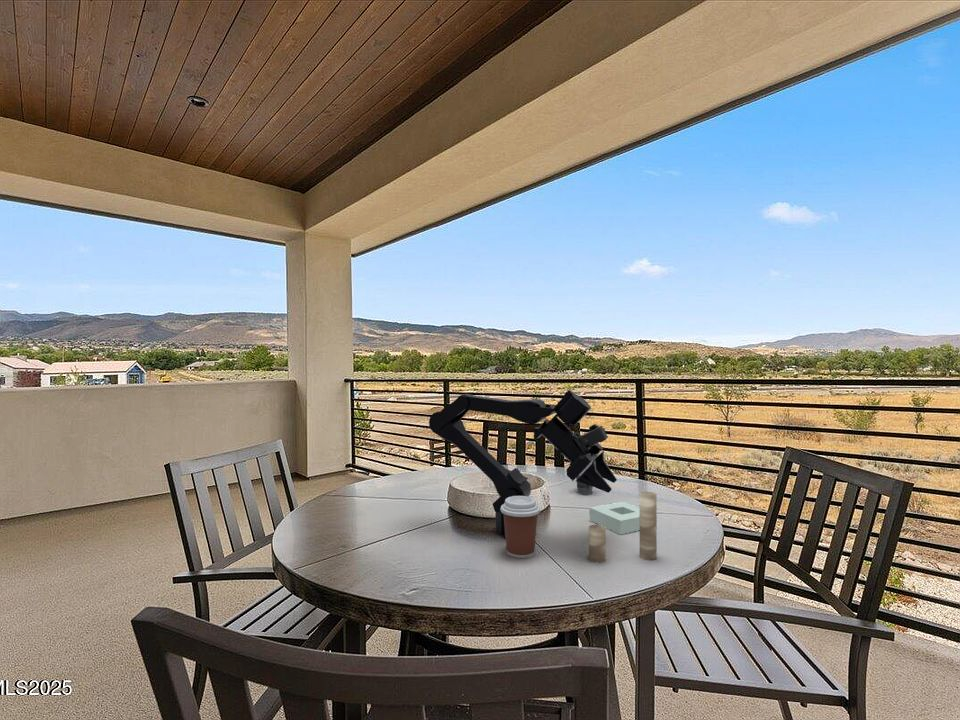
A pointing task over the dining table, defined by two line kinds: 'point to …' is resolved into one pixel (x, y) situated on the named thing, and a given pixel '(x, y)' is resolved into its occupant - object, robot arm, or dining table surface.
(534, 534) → the coffee cup
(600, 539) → the short pin
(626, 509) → the collar block
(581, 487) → the beverage cup
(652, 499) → the tall pin
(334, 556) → the dining table surface
